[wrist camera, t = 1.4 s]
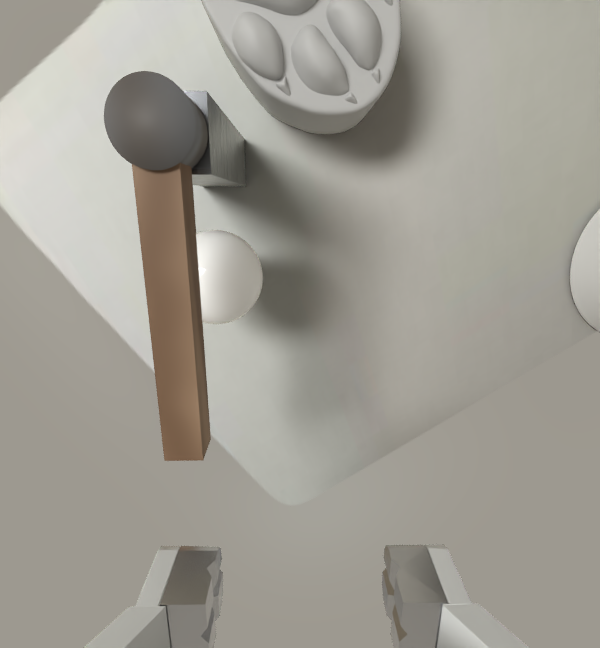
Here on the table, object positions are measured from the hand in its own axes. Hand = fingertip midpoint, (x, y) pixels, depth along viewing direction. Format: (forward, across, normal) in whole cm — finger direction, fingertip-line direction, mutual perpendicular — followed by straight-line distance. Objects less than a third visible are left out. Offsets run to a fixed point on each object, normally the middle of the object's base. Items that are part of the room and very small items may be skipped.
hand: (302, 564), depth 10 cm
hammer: (+12, +6, -5) cm, 15 cm away
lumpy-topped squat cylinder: (+27, -1, -20) cm, 34 cm away
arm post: (+27, +6, -12) cm, 30 cm away
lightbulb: (+27, +6, -4) cm, 28 cm away
